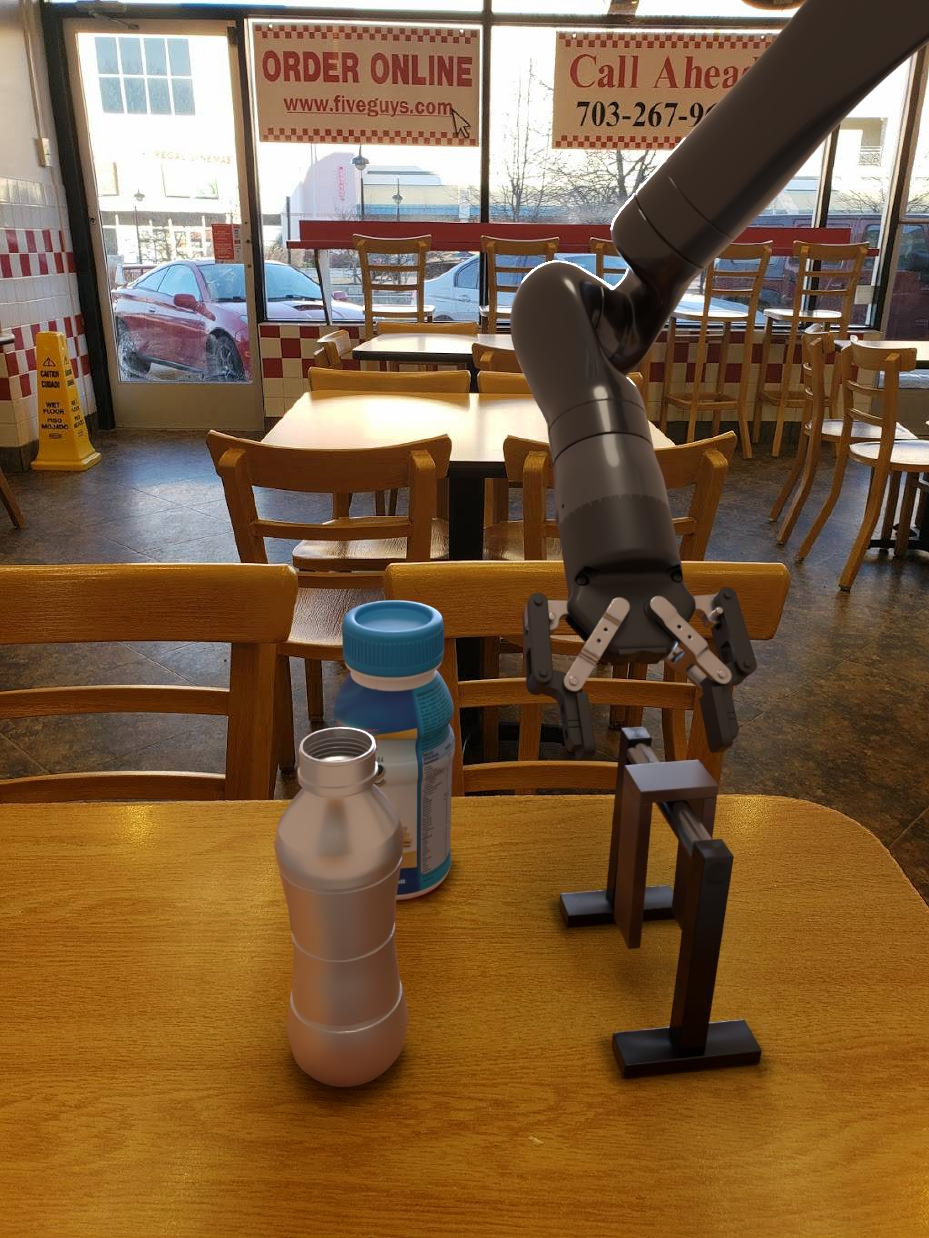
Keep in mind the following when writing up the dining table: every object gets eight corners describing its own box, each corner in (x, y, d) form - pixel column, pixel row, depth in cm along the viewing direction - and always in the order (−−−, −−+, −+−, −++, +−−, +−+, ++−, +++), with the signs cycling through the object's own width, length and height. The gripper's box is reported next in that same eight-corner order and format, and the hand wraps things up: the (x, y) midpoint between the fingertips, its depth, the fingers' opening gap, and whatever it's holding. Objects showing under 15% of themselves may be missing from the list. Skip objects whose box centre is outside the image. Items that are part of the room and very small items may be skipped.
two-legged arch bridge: (682, 910, 60) (698, 759, 56) (700, 942, 57) (718, 785, 53) (613, 917, 59) (624, 764, 55) (627, 949, 56) (640, 792, 52)
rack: (668, 896, 67) (689, 720, 62) (760, 1064, 53) (796, 856, 48) (558, 905, 66) (571, 727, 61) (623, 1079, 52) (646, 867, 47)
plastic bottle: (424, 1083, 51) (425, 763, 44) (302, 1121, 49) (282, 789, 42) (389, 1001, 57) (385, 705, 50) (277, 1031, 55) (256, 725, 47)
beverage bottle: (472, 887, 67) (478, 628, 60) (360, 918, 64) (353, 648, 57) (425, 825, 74) (426, 588, 67) (322, 851, 71) (312, 603, 64)
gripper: (519, 491, 59) (553, 742, 52) (735, 488, 61) (793, 729, 54) (500, 548, 65) (528, 776, 59) (695, 543, 68) (742, 763, 61)
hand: (655, 753), depth 57 cm, fingers open, 8 cm apart
